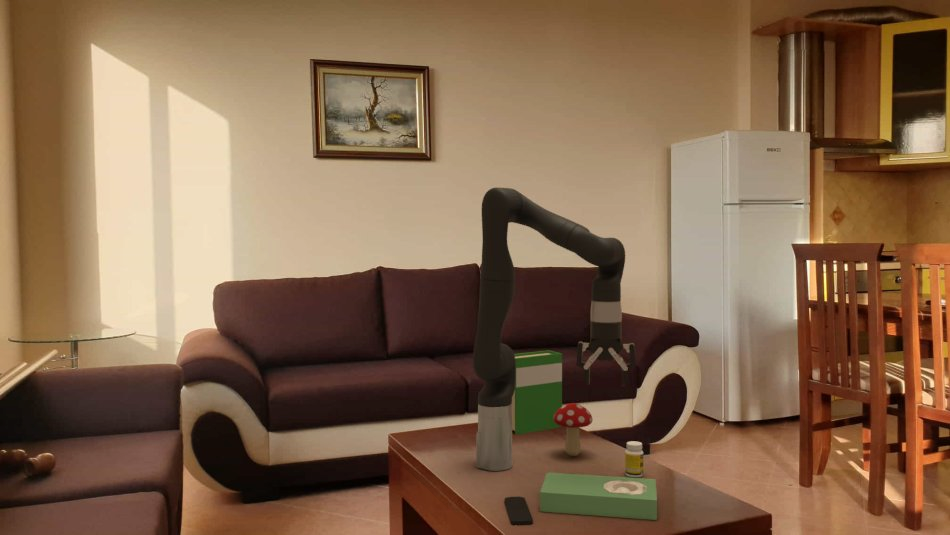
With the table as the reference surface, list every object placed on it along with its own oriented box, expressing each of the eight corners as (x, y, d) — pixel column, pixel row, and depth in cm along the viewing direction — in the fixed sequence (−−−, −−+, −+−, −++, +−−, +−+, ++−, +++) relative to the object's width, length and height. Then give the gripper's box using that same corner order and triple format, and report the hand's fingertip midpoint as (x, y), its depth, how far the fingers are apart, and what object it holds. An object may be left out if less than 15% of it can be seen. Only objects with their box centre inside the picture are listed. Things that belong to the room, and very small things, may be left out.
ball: (620, 513, 173) (609, 496, 174) (620, 506, 178) (610, 490, 178) (636, 503, 173) (625, 487, 173) (636, 497, 177) (625, 481, 177)
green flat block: (540, 511, 173) (540, 492, 172) (547, 490, 186) (547, 472, 186) (656, 520, 167) (657, 500, 167) (655, 497, 181) (655, 479, 181)
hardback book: (516, 434, 236) (516, 358, 234) (503, 429, 242) (503, 355, 241) (561, 426, 244) (562, 353, 243) (548, 421, 251) (548, 350, 249)
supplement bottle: (643, 478, 195) (643, 446, 194) (624, 477, 196) (625, 445, 195) (643, 472, 199) (643, 441, 199) (624, 471, 200) (625, 440, 200)
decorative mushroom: (600, 455, 214) (600, 402, 214) (578, 464, 206) (579, 410, 205) (567, 447, 222) (567, 397, 221) (545, 456, 213) (545, 404, 212)
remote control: (533, 528, 165) (524, 501, 180) (533, 521, 165) (524, 494, 180) (511, 529, 165) (503, 502, 180) (511, 522, 164) (503, 495, 179)
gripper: (575, 320, 183) (575, 386, 184) (635, 321, 180) (635, 389, 181) (577, 316, 190) (577, 380, 191) (635, 318, 187) (635, 382, 188)
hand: (605, 384), depth 186 cm, fingers open, 8 cm apart
